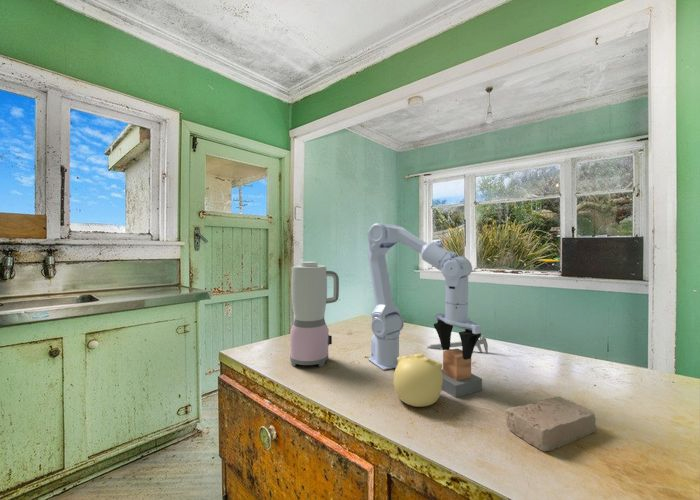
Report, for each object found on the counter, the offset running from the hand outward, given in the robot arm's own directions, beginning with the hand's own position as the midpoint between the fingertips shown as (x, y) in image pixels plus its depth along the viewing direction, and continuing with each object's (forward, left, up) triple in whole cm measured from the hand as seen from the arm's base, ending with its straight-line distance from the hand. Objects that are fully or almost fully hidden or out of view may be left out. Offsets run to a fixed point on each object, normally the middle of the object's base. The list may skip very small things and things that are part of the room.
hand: (456, 353), depth 82 cm
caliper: (-21, +21, -9) cm, 31 cm away
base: (0, 0, -9) cm, 9 cm away
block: (0, 0, -6) cm, 6 cm away
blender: (-33, -28, -9) cm, 44 cm away
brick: (+23, +3, -9) cm, 25 cm away
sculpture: (+1, -13, -9) cm, 16 cm away
